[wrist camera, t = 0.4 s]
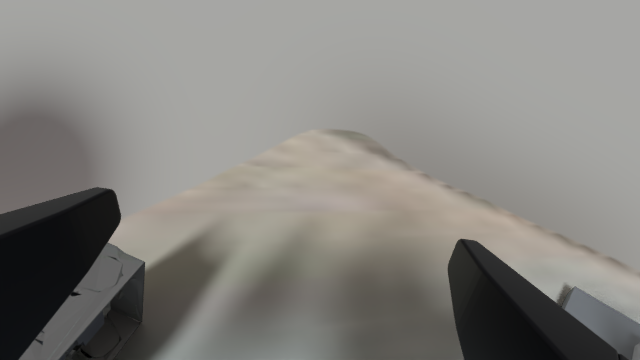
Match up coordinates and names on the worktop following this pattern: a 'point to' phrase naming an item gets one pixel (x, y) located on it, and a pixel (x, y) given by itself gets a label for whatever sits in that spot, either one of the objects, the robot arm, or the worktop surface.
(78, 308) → the electrical switch
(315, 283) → the worktop surface
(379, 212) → the worktop surface
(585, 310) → the switch board
